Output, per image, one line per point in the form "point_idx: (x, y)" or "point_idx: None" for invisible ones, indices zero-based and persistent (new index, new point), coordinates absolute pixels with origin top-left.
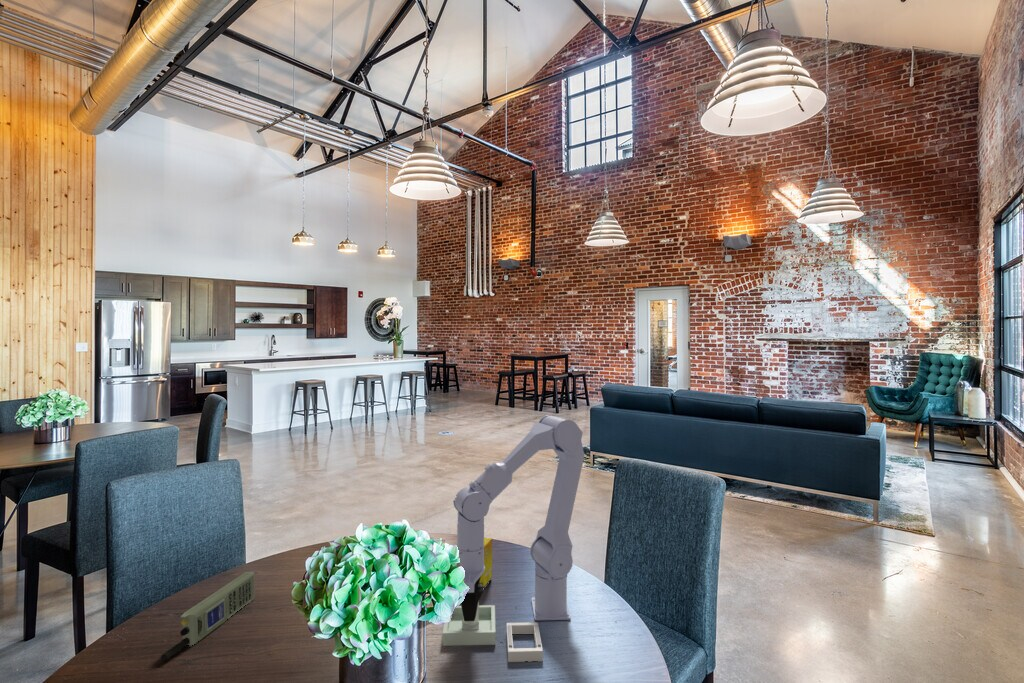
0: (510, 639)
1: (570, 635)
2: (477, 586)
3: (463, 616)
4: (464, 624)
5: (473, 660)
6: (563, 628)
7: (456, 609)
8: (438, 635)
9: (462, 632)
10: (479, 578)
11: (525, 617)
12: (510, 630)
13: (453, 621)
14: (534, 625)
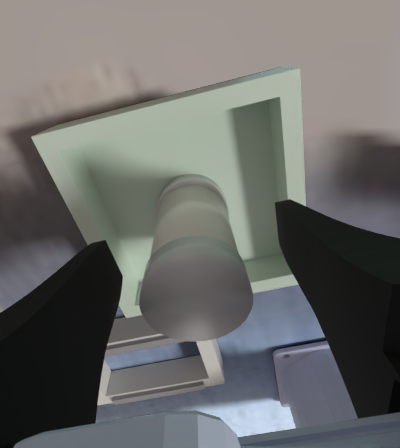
0: (109, 353)
1: (219, 404)
2: (314, 307)
3: (77, 254)
4: (161, 201)
5: (31, 252)
6: (246, 393)
7: (279, 130)
8: (122, 77)
9: (78, 220)
10: (338, 364)
11: (292, 327)
12: (157, 345)
13: (225, 122)
14: (207, 380)
